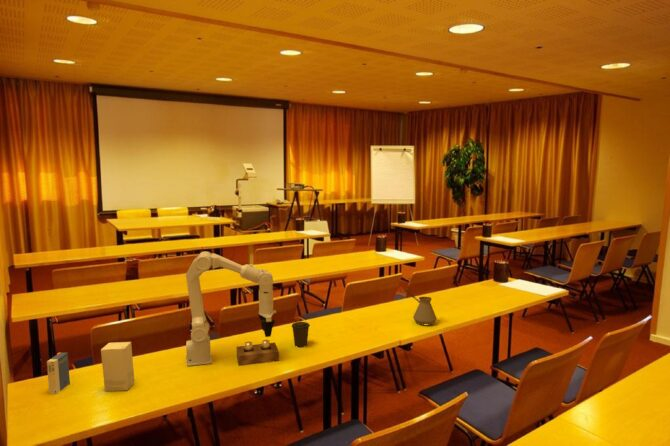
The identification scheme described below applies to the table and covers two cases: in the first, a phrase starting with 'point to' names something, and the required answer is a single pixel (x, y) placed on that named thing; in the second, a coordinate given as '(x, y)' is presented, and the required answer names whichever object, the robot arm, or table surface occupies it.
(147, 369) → the table surface
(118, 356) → the skincare box
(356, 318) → the table surface
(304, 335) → the coffee cup
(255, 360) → the socket block
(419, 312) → the coffee pot
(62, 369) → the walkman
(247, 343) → the peg left
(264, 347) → the peg right
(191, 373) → the table surface
